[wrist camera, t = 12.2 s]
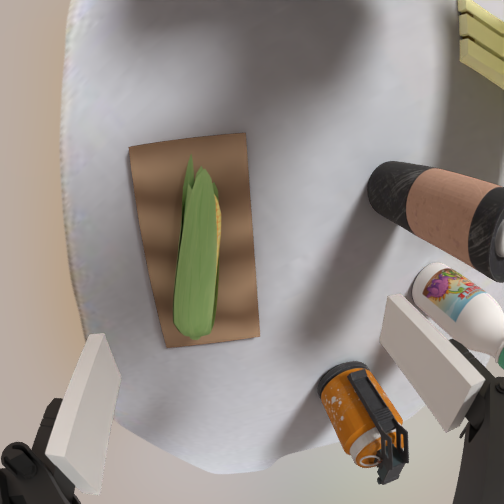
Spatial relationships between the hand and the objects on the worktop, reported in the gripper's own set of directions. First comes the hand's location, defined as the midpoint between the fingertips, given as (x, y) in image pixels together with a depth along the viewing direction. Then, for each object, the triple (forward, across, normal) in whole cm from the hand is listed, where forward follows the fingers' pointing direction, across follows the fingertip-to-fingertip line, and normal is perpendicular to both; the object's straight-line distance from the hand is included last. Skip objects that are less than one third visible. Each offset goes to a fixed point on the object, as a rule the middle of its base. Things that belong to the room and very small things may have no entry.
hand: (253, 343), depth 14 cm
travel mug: (+23, +21, +1) cm, 31 cm away
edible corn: (+22, -3, -3) cm, 22 cm away
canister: (+22, +16, -28) cm, 39 cm away
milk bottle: (+23, +30, -14) cm, 40 cm away
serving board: (+23, -3, -4) cm, 23 cm away
